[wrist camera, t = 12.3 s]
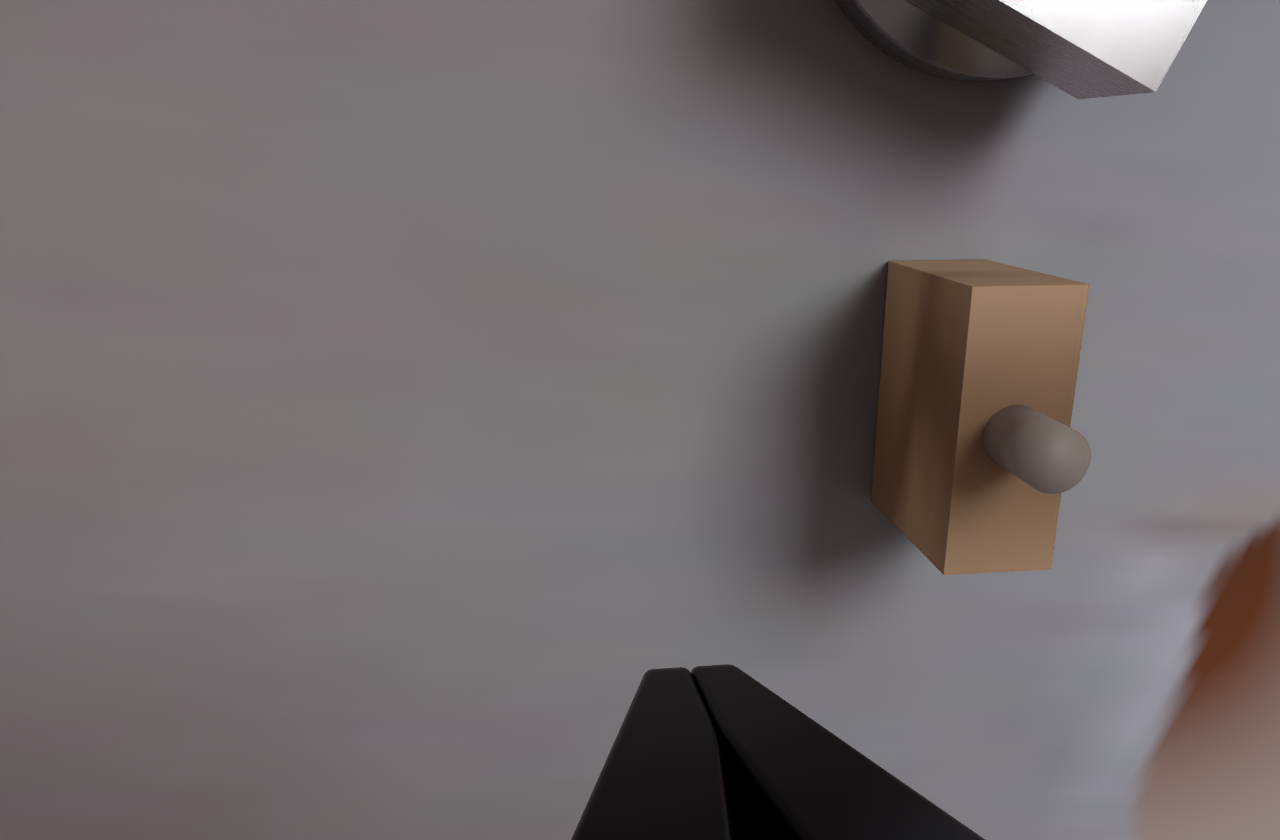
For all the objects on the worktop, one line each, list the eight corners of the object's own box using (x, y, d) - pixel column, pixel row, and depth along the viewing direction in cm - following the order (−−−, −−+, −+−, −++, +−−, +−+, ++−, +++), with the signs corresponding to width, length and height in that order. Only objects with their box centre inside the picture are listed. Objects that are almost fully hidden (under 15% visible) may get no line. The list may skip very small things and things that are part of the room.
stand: (960, 496, 22) (1095, 605, 17) (871, 500, 22) (979, 611, 16) (984, 259, 20) (1142, 297, 15) (889, 260, 20) (1014, 299, 15)
